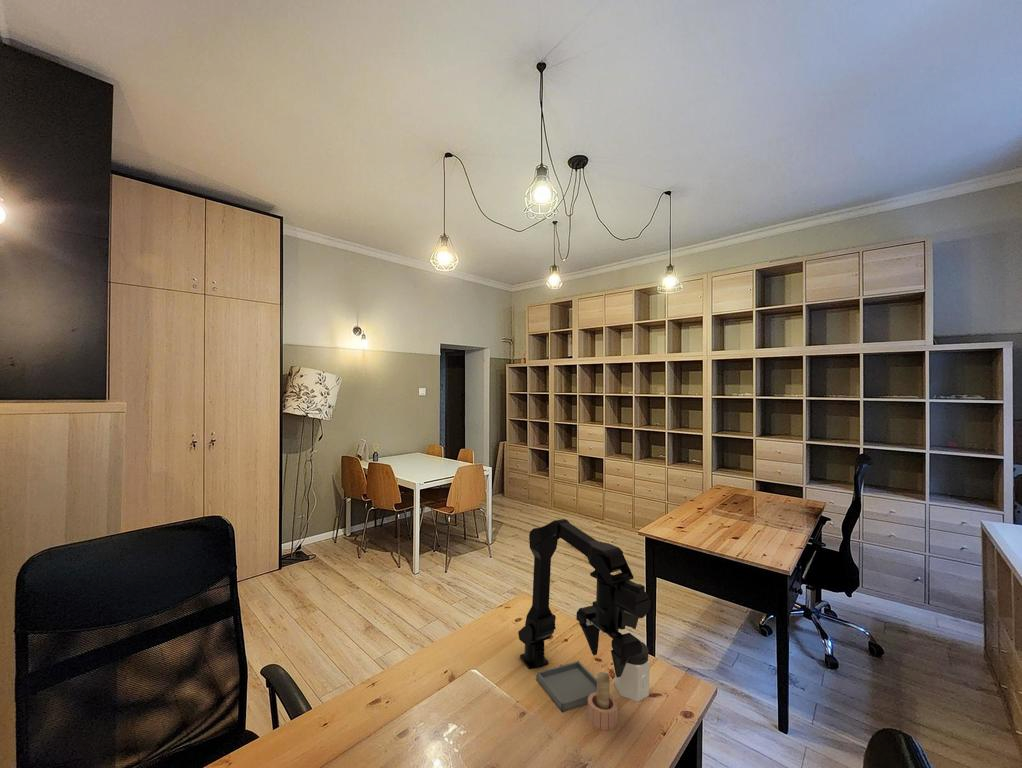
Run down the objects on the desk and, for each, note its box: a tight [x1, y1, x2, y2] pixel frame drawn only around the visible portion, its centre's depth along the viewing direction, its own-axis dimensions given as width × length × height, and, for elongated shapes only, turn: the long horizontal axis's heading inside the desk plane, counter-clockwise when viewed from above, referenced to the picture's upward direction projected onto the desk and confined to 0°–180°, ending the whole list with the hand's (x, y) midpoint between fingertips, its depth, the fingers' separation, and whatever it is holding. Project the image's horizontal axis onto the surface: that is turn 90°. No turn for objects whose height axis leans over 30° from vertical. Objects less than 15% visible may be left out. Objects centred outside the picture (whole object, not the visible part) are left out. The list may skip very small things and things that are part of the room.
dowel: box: [596, 671, 611, 710], centre depth 99 cm, size 3×3×10 cm
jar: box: [614, 641, 651, 703], centre depth 110 cm, size 9×8×12 cm
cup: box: [586, 692, 619, 731], centre depth 99 cm, size 7×7×4 cm
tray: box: [535, 660, 597, 713], centre depth 110 cm, size 13×14×2 cm
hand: (606, 665), depth 100 cm, fingers open, 9 cm apart
